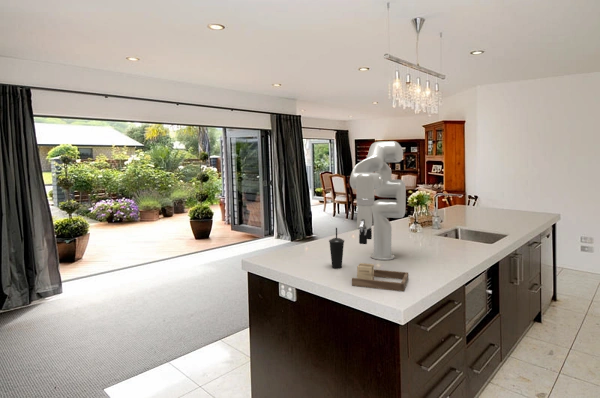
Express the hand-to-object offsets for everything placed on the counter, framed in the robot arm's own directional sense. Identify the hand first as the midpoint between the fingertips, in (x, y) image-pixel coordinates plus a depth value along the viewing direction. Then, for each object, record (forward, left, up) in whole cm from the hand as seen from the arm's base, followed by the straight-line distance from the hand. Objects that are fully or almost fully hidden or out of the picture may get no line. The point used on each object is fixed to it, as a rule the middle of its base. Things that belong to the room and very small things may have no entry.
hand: (365, 241), depth 158 cm
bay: (0, +6, -18) cm, 19 cm away
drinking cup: (-16, -18, -18) cm, 30 cm away
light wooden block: (0, 0, -18) cm, 18 cm away
